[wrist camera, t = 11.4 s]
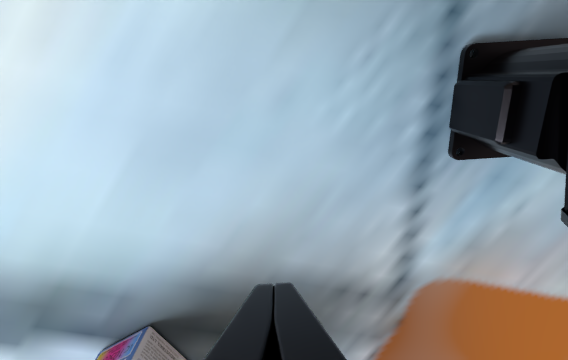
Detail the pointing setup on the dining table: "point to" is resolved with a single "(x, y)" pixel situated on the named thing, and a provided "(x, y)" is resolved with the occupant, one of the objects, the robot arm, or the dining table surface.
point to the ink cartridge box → (141, 348)
